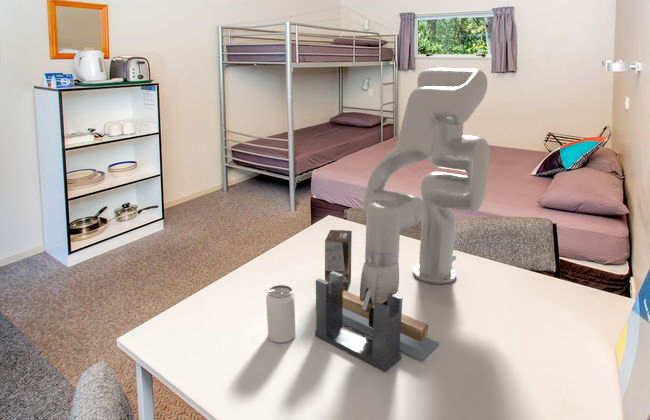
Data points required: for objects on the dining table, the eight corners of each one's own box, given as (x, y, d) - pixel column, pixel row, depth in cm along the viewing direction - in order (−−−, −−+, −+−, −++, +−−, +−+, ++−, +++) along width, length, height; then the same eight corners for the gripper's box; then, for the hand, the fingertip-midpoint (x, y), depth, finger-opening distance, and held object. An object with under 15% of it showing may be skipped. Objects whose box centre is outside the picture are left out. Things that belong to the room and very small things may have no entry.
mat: (344, 303, 121) (344, 301, 120) (439, 345, 103) (439, 343, 103) (324, 316, 115) (324, 314, 115) (421, 362, 97) (422, 359, 97)
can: (280, 325, 111) (278, 281, 107) (301, 333, 108) (299, 289, 104) (262, 338, 106) (259, 292, 102) (283, 347, 103) (282, 301, 99)
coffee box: (347, 296, 124) (347, 242, 119) (324, 294, 126) (323, 240, 120) (351, 281, 133) (352, 230, 128) (330, 279, 134) (330, 228, 129)
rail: (344, 300, 117) (344, 290, 116) (427, 335, 102) (428, 324, 101) (337, 305, 115) (337, 294, 114) (420, 342, 100) (421, 330, 99)
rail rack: (331, 325, 111) (331, 270, 106) (401, 359, 98) (404, 298, 94) (314, 336, 107) (314, 279, 102) (385, 372, 94) (388, 310, 89)
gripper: (388, 240, 111) (385, 305, 117) (346, 262, 99) (345, 333, 105) (415, 248, 106) (410, 316, 112) (374, 272, 95) (372, 346, 100)
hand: (379, 323), depth 109 cm, fingers closed on rail, 3 cm apart
